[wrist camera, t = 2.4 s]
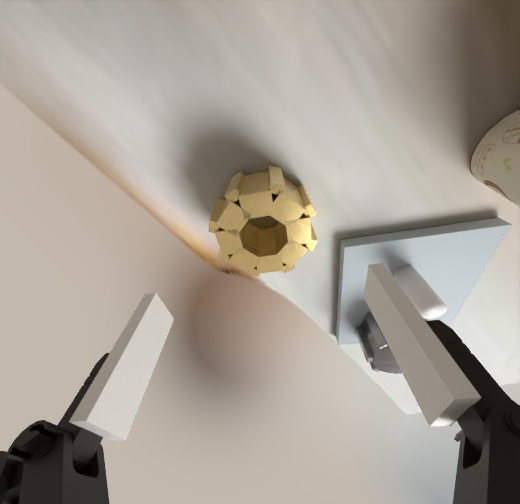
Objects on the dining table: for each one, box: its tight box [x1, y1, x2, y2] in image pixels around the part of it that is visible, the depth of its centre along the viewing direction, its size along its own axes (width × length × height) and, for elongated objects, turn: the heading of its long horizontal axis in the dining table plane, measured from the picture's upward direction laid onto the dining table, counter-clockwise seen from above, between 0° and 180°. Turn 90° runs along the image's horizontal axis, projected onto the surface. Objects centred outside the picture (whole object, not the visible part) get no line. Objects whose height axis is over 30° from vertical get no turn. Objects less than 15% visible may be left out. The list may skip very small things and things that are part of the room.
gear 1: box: [209, 165, 317, 276], centre depth 20 cm, size 9×9×5 cm
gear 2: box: [355, 313, 428, 374], centre depth 29 cm, size 9×9×6 cm
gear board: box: [336, 218, 512, 345], centre depth 26 cm, size 20×16×7 cm
